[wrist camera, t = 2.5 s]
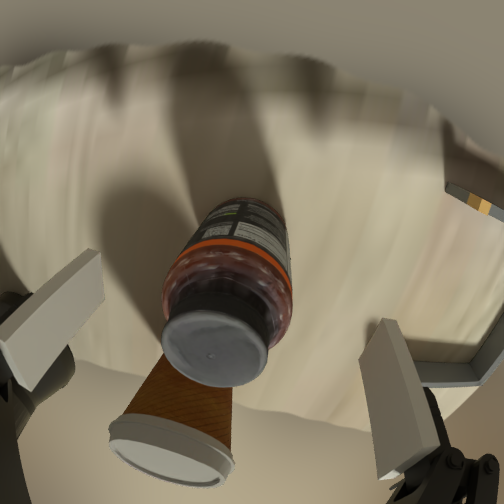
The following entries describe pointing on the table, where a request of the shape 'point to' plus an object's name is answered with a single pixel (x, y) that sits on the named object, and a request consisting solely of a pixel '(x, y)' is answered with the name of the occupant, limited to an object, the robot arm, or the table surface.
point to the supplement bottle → (229, 295)
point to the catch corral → (495, 347)
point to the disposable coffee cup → (176, 430)
